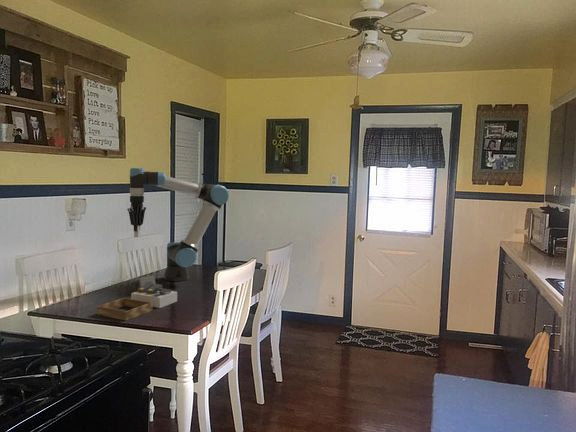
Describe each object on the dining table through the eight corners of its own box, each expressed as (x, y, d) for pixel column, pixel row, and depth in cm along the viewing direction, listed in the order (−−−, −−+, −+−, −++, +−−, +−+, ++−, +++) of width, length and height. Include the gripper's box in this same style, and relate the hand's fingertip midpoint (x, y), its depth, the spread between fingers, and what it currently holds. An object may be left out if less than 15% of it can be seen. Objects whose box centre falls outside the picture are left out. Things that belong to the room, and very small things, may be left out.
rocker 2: (156, 286, 252) (156, 283, 252) (162, 287, 251) (162, 284, 250) (146, 292, 245) (146, 290, 245) (152, 293, 244) (152, 291, 243)
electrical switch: (142, 295, 261) (141, 278, 261) (137, 294, 265) (136, 277, 264) (157, 292, 269) (156, 275, 268) (151, 291, 272) (150, 275, 272)
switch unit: (149, 296, 258) (149, 285, 258) (177, 301, 251) (177, 289, 251) (131, 303, 246) (131, 291, 245) (159, 307, 238) (159, 296, 238)
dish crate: (124, 305, 241) (124, 297, 240) (152, 310, 234) (152, 302, 233) (97, 314, 225) (97, 306, 224) (126, 320, 218) (126, 311, 217)
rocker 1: (148, 284, 254) (147, 282, 254) (154, 285, 253) (153, 283, 252) (138, 291, 247) (137, 289, 247) (144, 292, 246) (143, 289, 245)
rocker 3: (164, 291, 250) (165, 288, 250) (170, 292, 248) (171, 289, 248) (154, 290, 243) (155, 287, 243) (161, 291, 241) (161, 288, 241)
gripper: (139, 194, 279) (139, 235, 282) (123, 195, 268) (123, 237, 270) (149, 195, 276) (149, 236, 279) (134, 196, 264) (134, 238, 267)
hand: (136, 236), depth 274 cm, fingers closed
